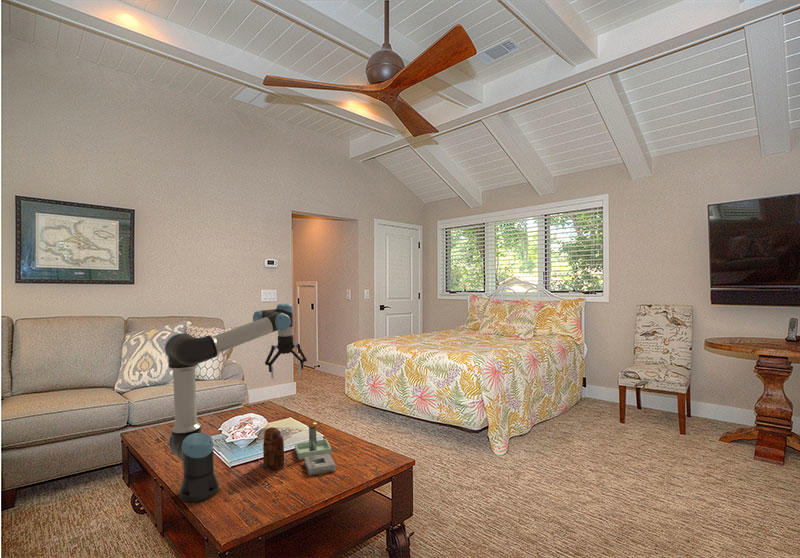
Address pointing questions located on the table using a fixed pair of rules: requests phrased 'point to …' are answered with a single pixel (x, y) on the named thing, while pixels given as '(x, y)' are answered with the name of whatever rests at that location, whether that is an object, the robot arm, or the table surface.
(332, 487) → the table surface
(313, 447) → the pin
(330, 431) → the table surface
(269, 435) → the wooden figurine
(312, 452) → the tray
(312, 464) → the block
